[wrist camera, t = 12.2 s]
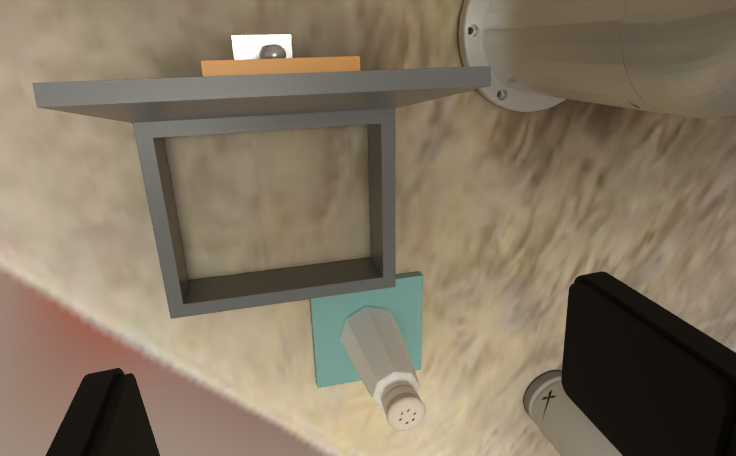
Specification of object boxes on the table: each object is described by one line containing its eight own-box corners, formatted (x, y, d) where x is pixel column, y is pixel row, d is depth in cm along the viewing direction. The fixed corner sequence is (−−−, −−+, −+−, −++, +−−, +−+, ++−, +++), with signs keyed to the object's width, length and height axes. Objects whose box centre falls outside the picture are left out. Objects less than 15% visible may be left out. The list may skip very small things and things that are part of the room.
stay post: (289, 34, 34) (316, 26, 22) (292, 70, 35) (319, 81, 23) (231, 35, 33) (227, 28, 21) (235, 72, 34) (233, 84, 22)
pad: (419, 271, 43) (422, 275, 43) (418, 364, 47) (421, 369, 46) (309, 286, 41) (310, 290, 40) (316, 382, 45) (317, 388, 44)
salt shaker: (327, 341, 42) (353, 431, 32) (364, 294, 42) (403, 371, 32) (372, 366, 45) (411, 458, 35) (409, 322, 44) (459, 402, 34)
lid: (394, 108, 34) (393, 87, 33) (490, 86, 20) (490, 51, 20) (132, 122, 30) (128, 99, 30) (37, 107, 16) (28, 64, 16)
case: (379, 102, 37) (394, 108, 34) (382, 266, 42) (395, 286, 39) (144, 114, 33) (132, 122, 30) (177, 293, 38) (170, 318, 35)
